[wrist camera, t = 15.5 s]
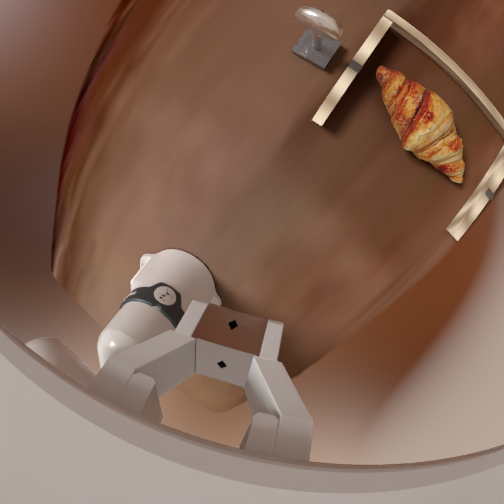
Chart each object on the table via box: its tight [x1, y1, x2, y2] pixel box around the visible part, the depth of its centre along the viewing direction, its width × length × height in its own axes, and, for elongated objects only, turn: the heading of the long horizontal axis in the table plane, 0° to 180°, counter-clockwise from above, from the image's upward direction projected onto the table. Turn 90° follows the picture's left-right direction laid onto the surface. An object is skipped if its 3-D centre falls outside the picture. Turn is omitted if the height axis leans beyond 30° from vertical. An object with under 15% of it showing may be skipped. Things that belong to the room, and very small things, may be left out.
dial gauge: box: [292, 6, 343, 70], centre depth 23 cm, size 5×5×14 cm
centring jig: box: [312, 9, 504, 241], centre depth 29 cm, size 22×30×4 cm
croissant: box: [376, 65, 465, 183], centre depth 29 cm, size 21×10×8 cm
